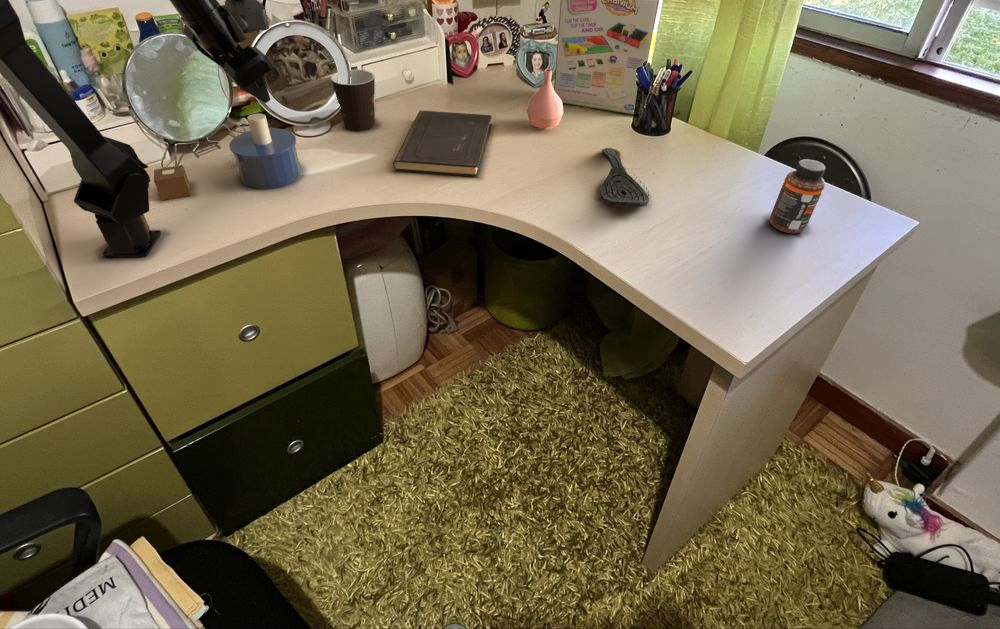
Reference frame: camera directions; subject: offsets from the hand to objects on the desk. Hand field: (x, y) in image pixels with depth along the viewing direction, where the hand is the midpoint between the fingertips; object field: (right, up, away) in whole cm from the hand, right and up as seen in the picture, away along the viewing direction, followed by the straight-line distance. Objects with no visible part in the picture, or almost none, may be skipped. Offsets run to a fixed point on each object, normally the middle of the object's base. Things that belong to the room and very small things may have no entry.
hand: (254, 89), depth 100 cm
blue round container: (0, -13, +6) cm, 15 cm away
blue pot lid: (+1, -9, +2) cm, 9 cm away
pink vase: (+52, +1, +25) cm, 58 cm away
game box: (+65, +10, +35) cm, 74 cm away
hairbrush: (+65, -15, +8) cm, 67 cm away
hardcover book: (+32, -5, +17) cm, 36 cm away
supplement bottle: (+91, -24, -2) cm, 95 cm away
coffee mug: (+13, +2, +25) cm, 28 cm away
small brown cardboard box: (-14, -18, +1) cm, 23 cm away
